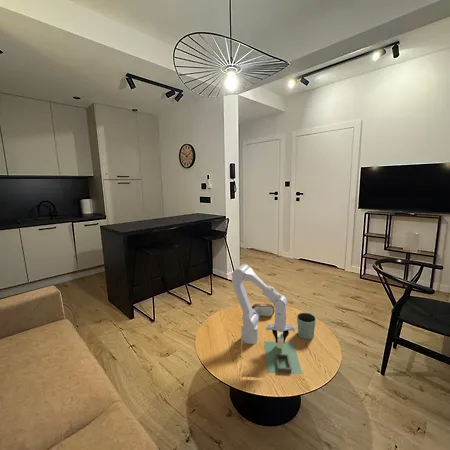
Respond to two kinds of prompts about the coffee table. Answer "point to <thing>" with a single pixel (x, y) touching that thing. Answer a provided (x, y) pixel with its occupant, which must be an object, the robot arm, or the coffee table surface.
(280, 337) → the cream rectangular block
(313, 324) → the grey-green cup
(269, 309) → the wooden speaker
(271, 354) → the board
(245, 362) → the coffee table surface
